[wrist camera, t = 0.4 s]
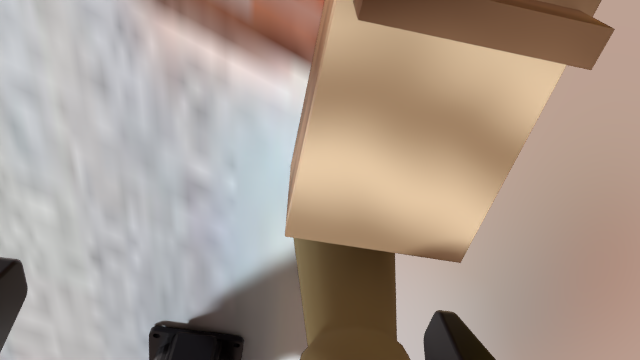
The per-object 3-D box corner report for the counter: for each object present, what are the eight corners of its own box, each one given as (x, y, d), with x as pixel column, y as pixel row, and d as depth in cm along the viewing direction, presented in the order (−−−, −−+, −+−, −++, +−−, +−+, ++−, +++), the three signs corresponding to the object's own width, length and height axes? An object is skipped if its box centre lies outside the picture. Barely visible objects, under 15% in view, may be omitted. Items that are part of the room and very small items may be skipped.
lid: (454, 247, 21) (473, 297, 19) (286, 221, 20) (282, 270, 18) (593, -23, 14) (650, -1, 12) (351, -82, 13) (359, -71, 11)
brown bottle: (310, 282, 29) (308, 469, 20) (279, 212, 26) (260, 398, 17) (403, 262, 28) (444, 449, 19) (383, 187, 25) (422, 370, 16)
